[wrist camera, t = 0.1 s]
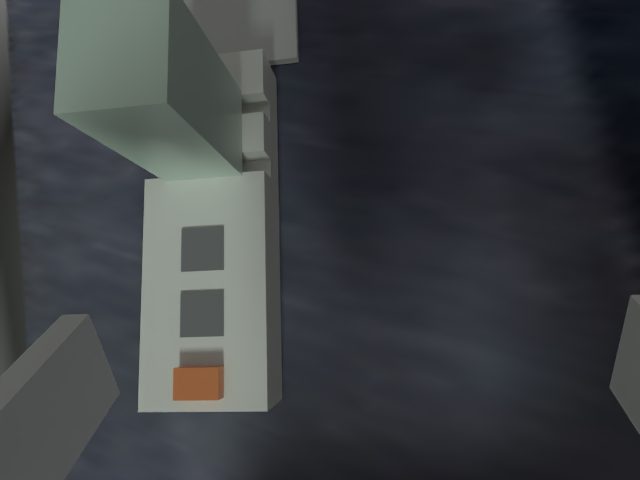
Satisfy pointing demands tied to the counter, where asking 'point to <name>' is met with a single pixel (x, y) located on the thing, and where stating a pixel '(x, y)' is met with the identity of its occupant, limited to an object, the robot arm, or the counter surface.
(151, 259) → the power strip
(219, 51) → the mat
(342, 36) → the counter surface
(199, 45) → the block
